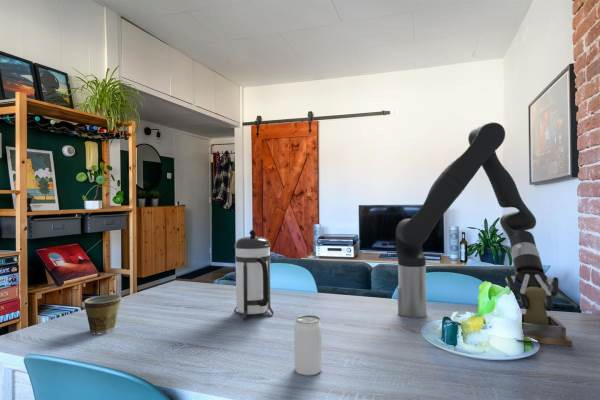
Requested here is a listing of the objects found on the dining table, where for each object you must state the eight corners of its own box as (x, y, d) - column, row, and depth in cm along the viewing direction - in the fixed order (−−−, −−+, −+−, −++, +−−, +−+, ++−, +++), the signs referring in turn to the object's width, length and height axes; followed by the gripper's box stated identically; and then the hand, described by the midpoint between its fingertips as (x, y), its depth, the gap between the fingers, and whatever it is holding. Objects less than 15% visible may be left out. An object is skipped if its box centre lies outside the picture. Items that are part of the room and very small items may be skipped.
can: (293, 364, 86) (293, 315, 86) (320, 363, 87) (319, 314, 87) (295, 377, 80) (295, 324, 80) (324, 375, 80) (323, 322, 80)
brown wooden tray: (516, 340, 99) (515, 324, 99) (506, 325, 111) (506, 310, 111) (571, 346, 95) (571, 329, 95) (555, 329, 107) (555, 314, 107)
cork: (553, 329, 100) (552, 290, 100) (529, 328, 101) (528, 289, 101) (543, 322, 106) (542, 285, 106) (520, 321, 107) (519, 284, 107)
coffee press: (221, 319, 121) (221, 231, 121) (246, 306, 135) (245, 228, 136) (267, 325, 114) (266, 232, 114) (287, 310, 129) (286, 228, 129)
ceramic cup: (127, 327, 113) (127, 296, 113) (98, 338, 104) (98, 304, 104) (100, 322, 119) (100, 292, 119) (70, 332, 110) (70, 300, 110)
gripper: (502, 252, 113) (511, 299, 101) (555, 253, 108) (571, 304, 96) (499, 265, 118) (507, 312, 106) (550, 268, 113) (564, 317, 101)
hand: (537, 308), depth 102 cm, fingers closed on cork, 5 cm apart
